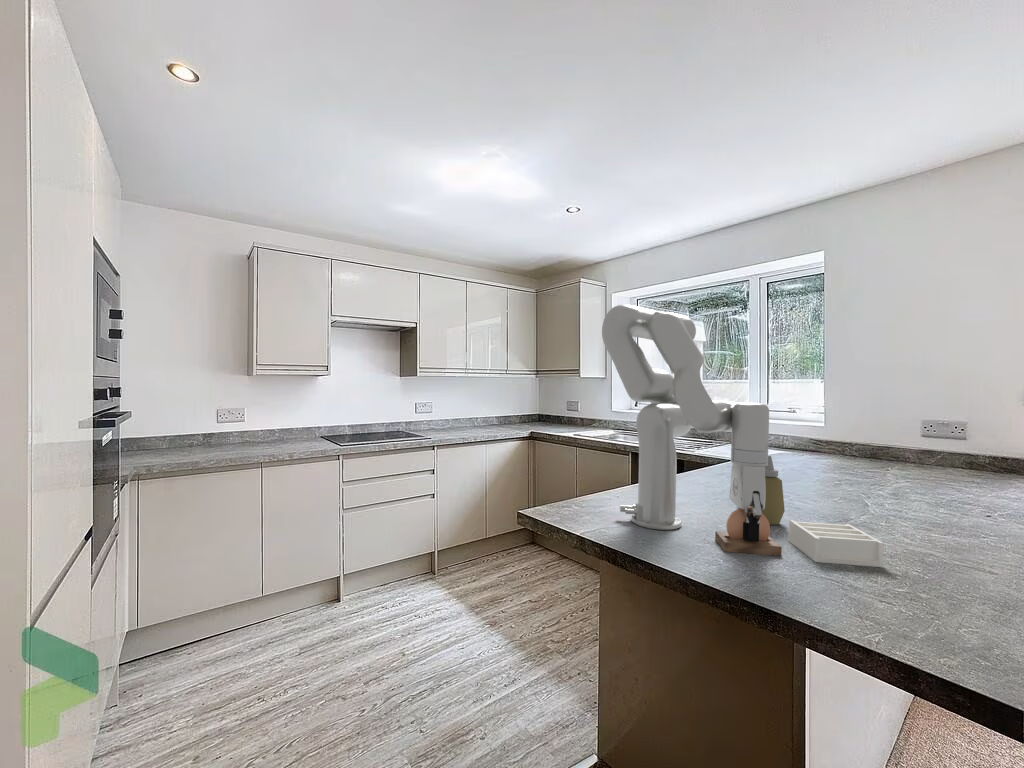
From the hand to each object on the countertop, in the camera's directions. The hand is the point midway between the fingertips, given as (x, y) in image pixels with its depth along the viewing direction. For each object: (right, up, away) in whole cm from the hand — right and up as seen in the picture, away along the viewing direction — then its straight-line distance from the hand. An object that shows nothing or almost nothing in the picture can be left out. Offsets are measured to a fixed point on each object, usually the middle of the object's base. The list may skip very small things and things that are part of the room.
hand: (747, 536), depth 105 cm
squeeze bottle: (+15, -3, +20) cm, 25 cm away
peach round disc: (0, +2, 0) cm, 2 cm away
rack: (+18, -3, -3) cm, 18 cm away
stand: (0, -3, 0) cm, 3 cm away
